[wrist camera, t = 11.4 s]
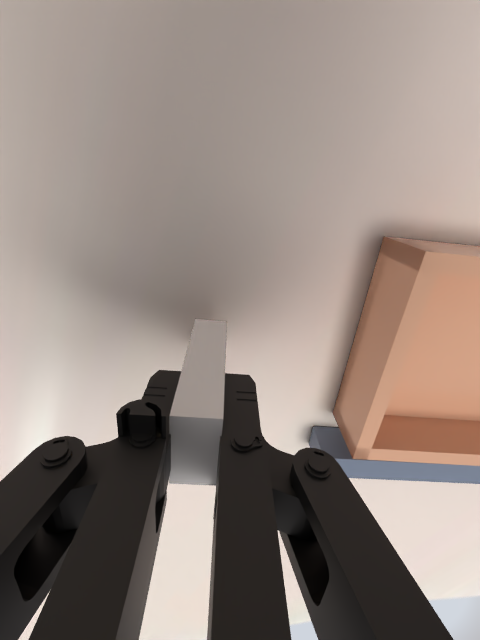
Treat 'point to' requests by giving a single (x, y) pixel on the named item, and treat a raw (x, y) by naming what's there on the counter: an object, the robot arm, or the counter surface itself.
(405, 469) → the blue-grey box with strip
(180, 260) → the counter surface
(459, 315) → the dish
